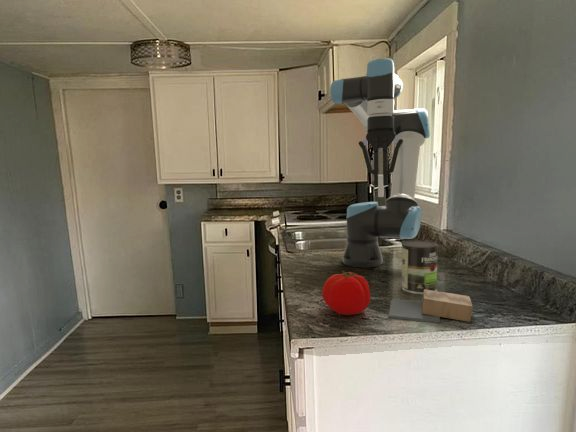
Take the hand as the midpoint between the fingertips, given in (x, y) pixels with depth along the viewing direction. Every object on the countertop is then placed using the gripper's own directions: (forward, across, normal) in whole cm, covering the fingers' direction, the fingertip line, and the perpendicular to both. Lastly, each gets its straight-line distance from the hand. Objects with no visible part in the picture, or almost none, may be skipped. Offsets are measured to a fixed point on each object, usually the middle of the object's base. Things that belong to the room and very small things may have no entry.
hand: (381, 196), depth 114 cm
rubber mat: (+28, +10, -18) cm, 35 cm away
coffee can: (+29, +11, 0) cm, 31 cm away
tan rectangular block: (+25, +12, -19) cm, 33 cm away
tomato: (+28, -8, -22) cm, 37 cm away
